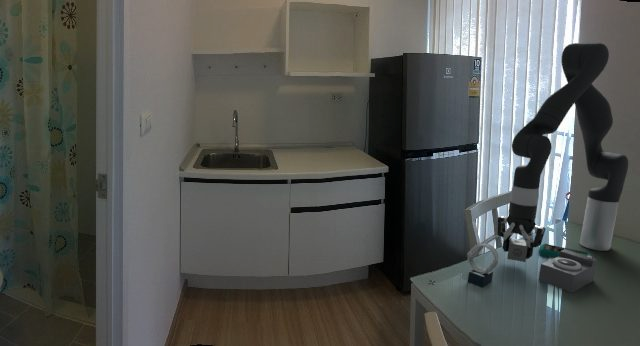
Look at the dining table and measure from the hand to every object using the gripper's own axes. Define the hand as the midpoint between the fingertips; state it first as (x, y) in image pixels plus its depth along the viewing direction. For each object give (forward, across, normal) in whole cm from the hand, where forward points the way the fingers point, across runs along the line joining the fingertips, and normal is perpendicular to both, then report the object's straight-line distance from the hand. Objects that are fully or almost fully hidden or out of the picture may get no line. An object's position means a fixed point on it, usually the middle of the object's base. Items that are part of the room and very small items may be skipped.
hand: (516, 254), depth 137 cm
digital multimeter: (+5, -5, -21) cm, 22 cm away
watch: (+3, -1, +21) cm, 21 cm away
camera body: (+4, -14, -2) cm, 15 cm away
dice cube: (+1, 0, 0) cm, 1 cm away
